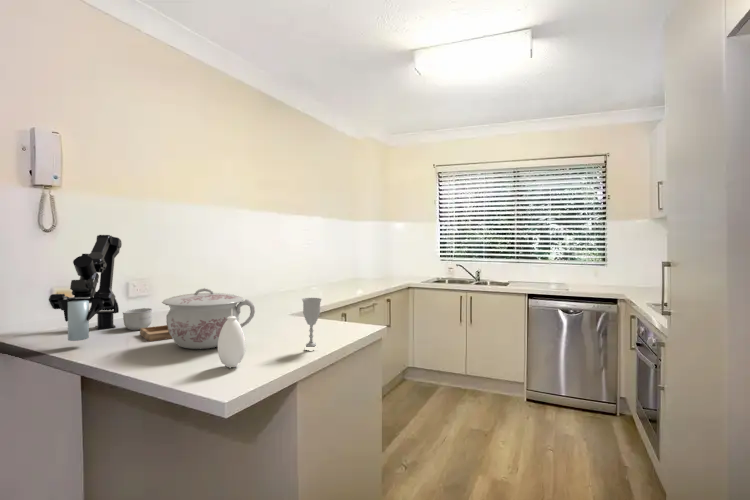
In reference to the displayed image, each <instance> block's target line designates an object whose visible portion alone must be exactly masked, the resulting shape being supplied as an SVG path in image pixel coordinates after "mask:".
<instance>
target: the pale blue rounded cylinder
mask: <svg viewBox="0 0 750 500" xmlns="http://www.w3.org/2000/svg"><path fill="white" fill-rule="evenodd" d="M89 305H90V303H89V301H87V300H78V301H70V302H68V321H67V341H69V342H76V341H77V342H78V341H85V340H88V339H89V338H90V330H89V329H90V323H89V322H90V320H89V321H87V316H88V313H89V310H90V307H89Z"/></svg>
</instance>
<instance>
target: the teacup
mask: <svg viewBox="0 0 750 500" xmlns="http://www.w3.org/2000/svg"><path fill="white" fill-rule="evenodd" d="M152 311H153V309H152V308H149V307H147V308H145V307H142V308H133V309H127V310H124V311H122V317H123V325H124V327H126V328H127V329H128V330H129V331H140V328H147V327H150V325H151V324H152V323H153V312H152Z"/></svg>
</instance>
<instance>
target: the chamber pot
mask: <svg viewBox="0 0 750 500" xmlns="http://www.w3.org/2000/svg"><path fill="white" fill-rule="evenodd" d="M161 303H162V304H163V305H165V306H168V308H169V310H168V312H167V314H166V319H165V320H166V321H165V322H166V325H167V327H168V332H169V334H170V335H171V337H172V338H173V339H172V340H173V341H174V343H175V344H176V345H178V346H179V348H180V347H181V348H185V349H188V350H194V351H195V350H196V351H197V350H198V351H199V350H201V349H202V350H210V348H211V349H215V347H216V348H218V339H219V335H220V332H221V329H222V327H223V325H224V323H225V322H226V321H227V320H228V319H227V318H228V317H230V316H231V309H232V310H233V316H235V317H236V320H237V321H238V322H239V321H240V314H241V307H243V306H248V307H249V311H250V313H249V316H248V317H247V318H246V320H245V321H244V322H242V323H240V322H239V324H240V326H241V328H242V329H243V328H244V327H245V326H247V325H248V324H249V323H250V322H251V320H252V319H253V318H254V317H255V315H256V314H255V313H256V309H255V305H254V303H253V302H252V301H251V300H249V299H245V300H244V298H243V297H242V296H239V295H235V294H230V293H220V292H214V291H213V290H212V289H209V288H205V287H204V288H199V289H198V290H196V291H195V292H194V293H185V294H182V295H181V294H179V295H176V296H171V297H169V298H165V299H163V300H162V301H161ZM202 350H201V351H202Z"/></svg>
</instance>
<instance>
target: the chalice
mask: <svg viewBox="0 0 750 500" xmlns="http://www.w3.org/2000/svg"><path fill="white" fill-rule="evenodd" d="M301 300H302V303H303V304H302V313H303V318H304V320H305V321H306V324H307V325H309V330H308V332H309V335H308V337H309V340H308V342H307V343H306V344H305V346H306V347H315V346H316V345H317V343H316V342H314V339H313V338H314V334H313V333H314V331H315V330H314V326H315V325H316V323H317V321H318V319H319V317H320V315H321V301H322V300H323V299H322V298H320V297H304V298H301Z"/></svg>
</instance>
